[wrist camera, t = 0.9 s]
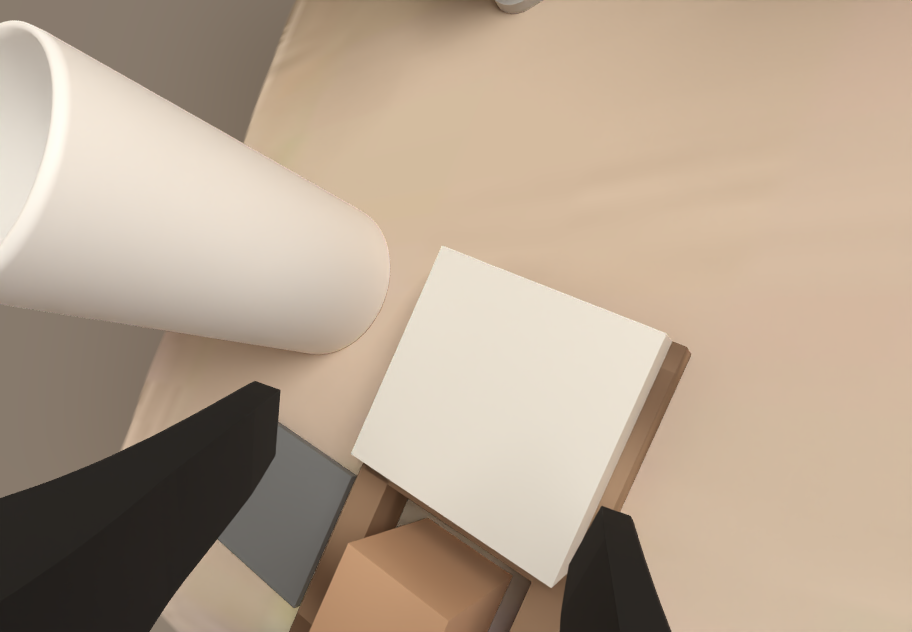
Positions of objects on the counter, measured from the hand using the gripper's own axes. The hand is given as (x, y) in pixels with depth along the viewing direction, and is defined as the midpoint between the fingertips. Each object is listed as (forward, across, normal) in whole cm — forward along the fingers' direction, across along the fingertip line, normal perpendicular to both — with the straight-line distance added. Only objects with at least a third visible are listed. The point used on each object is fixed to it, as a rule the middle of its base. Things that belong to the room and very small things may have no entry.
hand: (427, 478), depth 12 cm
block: (+6, -2, +14) cm, 15 cm away
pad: (+9, +8, +16) cm, 20 cm away
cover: (+9, -2, +4) cm, 10 cm away
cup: (+17, +10, +7) cm, 20 cm away
